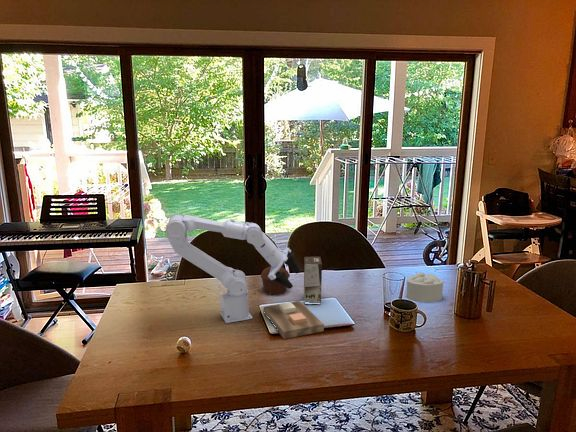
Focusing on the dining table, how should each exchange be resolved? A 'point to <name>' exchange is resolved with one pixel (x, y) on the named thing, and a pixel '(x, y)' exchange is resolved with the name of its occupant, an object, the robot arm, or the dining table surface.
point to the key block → (287, 327)
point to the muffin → (273, 282)
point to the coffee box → (312, 279)
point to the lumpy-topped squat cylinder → (424, 288)
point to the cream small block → (287, 308)
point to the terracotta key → (297, 318)
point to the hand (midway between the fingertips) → (294, 279)
